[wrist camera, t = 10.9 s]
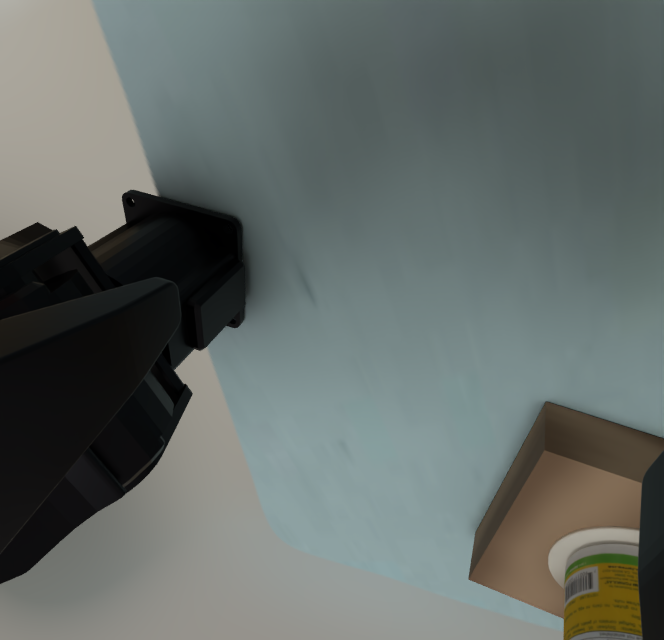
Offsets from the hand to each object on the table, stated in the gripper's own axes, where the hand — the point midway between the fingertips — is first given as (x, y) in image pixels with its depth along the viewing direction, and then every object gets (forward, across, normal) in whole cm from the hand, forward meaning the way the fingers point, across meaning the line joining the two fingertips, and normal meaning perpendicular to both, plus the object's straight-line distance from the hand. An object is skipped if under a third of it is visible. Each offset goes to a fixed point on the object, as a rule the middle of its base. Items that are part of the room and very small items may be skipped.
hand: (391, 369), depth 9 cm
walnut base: (+12, -12, +16) cm, 23 cm away
